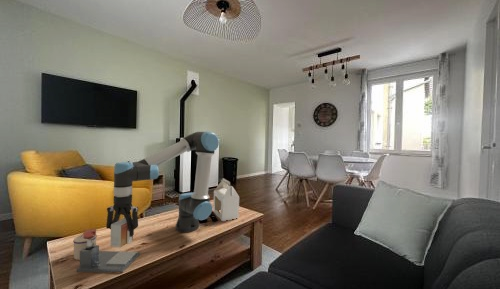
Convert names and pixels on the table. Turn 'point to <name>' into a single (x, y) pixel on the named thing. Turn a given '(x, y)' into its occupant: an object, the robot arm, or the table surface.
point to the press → (105, 260)
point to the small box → (119, 233)
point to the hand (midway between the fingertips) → (122, 242)
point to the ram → (89, 237)
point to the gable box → (226, 201)
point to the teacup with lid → (81, 245)
